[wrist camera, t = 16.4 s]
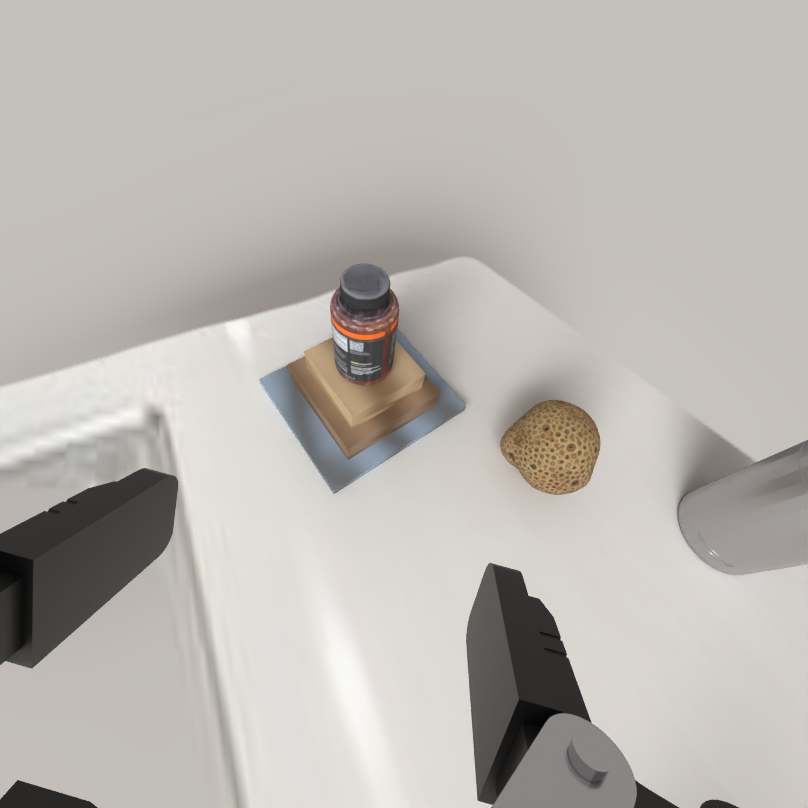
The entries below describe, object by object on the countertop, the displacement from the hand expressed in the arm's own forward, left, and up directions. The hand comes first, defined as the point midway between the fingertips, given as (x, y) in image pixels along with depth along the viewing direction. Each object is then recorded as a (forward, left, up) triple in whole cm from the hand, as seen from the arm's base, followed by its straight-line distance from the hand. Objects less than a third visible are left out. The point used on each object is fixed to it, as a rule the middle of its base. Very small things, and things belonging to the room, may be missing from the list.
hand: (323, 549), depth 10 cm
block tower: (-14, -18, -31) cm, 38 cm away
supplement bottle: (-14, -18, -24) cm, 33 cm away
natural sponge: (-25, 0, -31) cm, 40 cm away
